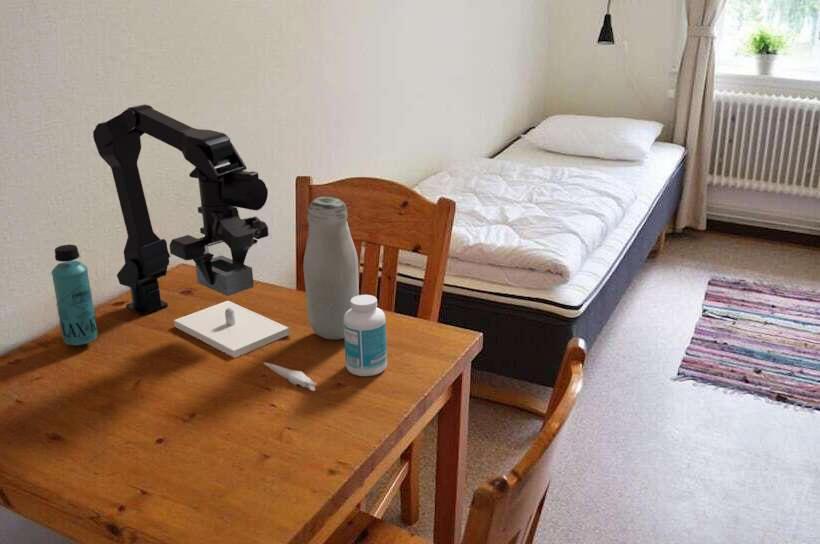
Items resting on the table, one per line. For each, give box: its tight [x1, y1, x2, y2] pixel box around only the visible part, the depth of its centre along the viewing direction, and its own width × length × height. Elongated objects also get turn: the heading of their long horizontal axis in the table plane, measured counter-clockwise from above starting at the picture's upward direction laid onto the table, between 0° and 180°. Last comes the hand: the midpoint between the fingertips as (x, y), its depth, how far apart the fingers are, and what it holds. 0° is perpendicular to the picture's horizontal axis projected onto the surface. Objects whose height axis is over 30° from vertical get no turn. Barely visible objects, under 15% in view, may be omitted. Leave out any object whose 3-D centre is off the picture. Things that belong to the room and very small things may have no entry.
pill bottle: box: [343, 294, 388, 377], centre depth 144 cm, size 8×7×14 cm
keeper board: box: [173, 300, 290, 359], centre depth 160 cm, size 20×13×5 cm, turn 48°
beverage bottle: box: [51, 244, 99, 346], centre depth 152 cm, size 6×7×20 cm
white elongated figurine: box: [263, 362, 318, 392], centre depth 143 cm, size 15×3×2 cm, turn 46°
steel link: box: [194, 255, 254, 297], centre depth 156 cm, size 10×6×4 cm, turn 47°
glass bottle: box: [303, 196, 360, 341], centre depth 153 cm, size 10×10×28 cm
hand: (224, 279), depth 156 cm, fingers closed on steel link, 6 cm apart
